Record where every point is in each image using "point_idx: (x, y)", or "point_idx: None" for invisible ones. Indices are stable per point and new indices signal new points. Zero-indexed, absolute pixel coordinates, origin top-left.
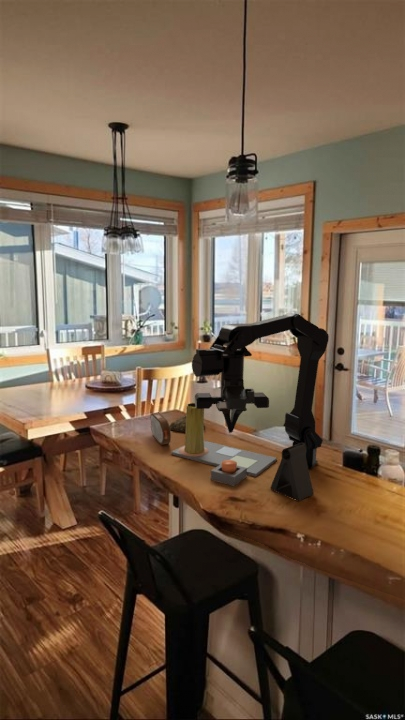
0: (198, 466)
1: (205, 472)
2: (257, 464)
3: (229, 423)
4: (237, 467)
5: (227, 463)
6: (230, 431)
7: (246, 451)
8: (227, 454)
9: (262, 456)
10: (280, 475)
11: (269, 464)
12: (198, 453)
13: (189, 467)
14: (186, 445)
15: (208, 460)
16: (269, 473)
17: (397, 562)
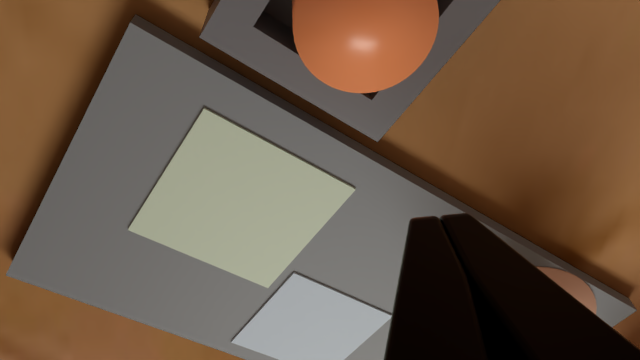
0: (523, 165)
1: (502, 78)
2: (127, 180)
3: (562, 350)
4: (280, 45)
5: (386, 9)
6: (451, 226)
7: (204, 336)
8: (321, 296)
9: (102, 286)
10: None
11: (45, 195)
12: None
13: (586, 149)
14: None
15: None
16: (33, 76)
17: None
